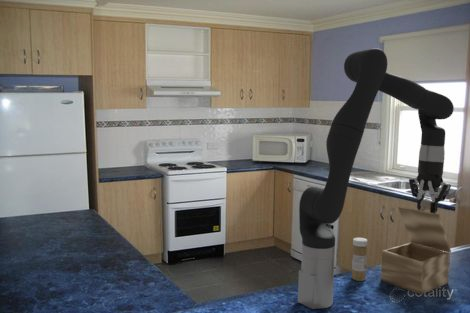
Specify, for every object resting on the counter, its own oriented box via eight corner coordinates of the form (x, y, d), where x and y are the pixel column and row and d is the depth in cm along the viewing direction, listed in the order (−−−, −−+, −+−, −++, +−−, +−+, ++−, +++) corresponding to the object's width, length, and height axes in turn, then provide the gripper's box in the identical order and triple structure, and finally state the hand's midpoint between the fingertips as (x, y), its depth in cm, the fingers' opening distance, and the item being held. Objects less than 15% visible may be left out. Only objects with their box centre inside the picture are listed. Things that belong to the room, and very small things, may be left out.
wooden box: (419, 294, 142) (421, 262, 141) (380, 280, 154) (382, 250, 153) (448, 283, 152) (450, 253, 151) (409, 270, 163) (411, 242, 162)
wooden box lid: (437, 214, 144) (448, 200, 147) (397, 206, 155) (408, 193, 158) (450, 252, 151) (460, 238, 154) (411, 242, 162) (421, 228, 165)
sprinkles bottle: (357, 275, 158) (358, 236, 156) (368, 279, 154) (370, 239, 153) (348, 278, 155) (350, 238, 153) (360, 282, 151) (362, 241, 150)
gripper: (404, 157, 155) (400, 209, 157) (446, 162, 144) (441, 217, 145) (418, 157, 159) (413, 207, 161) (458, 161, 148) (454, 215, 150)
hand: (426, 211), depth 153 cm, fingers closed on wooden box lid, 3 cm apart
